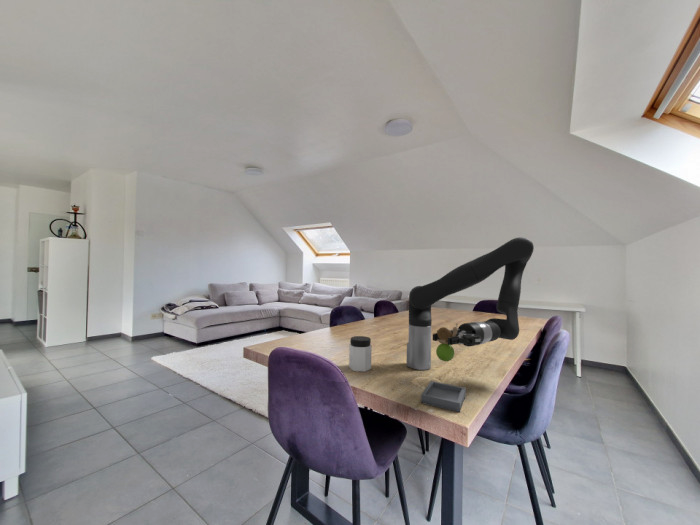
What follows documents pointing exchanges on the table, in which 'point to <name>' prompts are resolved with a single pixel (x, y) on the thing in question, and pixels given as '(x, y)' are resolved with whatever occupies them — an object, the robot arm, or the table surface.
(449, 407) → the tray
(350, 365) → the jar
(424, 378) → the table surface
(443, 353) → the snail figurine
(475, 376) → the table surface
